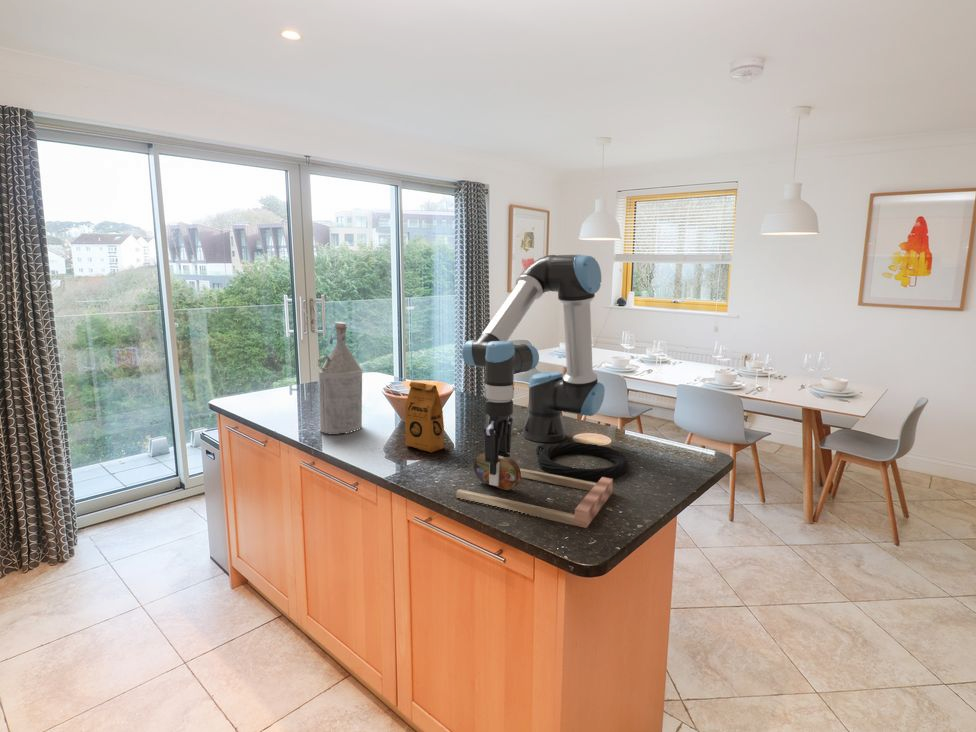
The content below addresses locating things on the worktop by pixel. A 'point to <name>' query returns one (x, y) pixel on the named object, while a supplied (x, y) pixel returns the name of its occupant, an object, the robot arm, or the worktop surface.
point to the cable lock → (579, 473)
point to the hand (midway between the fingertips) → (497, 482)
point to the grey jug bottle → (340, 388)
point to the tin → (507, 475)
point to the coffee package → (424, 418)
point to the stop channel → (580, 518)
